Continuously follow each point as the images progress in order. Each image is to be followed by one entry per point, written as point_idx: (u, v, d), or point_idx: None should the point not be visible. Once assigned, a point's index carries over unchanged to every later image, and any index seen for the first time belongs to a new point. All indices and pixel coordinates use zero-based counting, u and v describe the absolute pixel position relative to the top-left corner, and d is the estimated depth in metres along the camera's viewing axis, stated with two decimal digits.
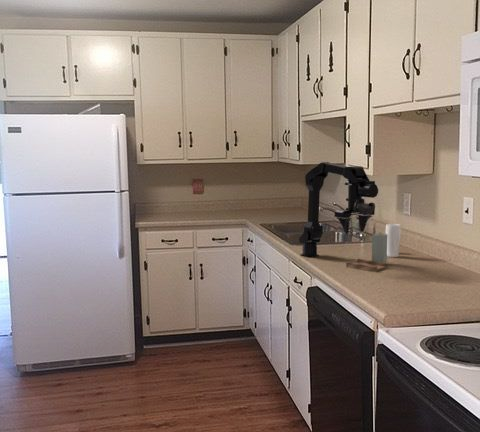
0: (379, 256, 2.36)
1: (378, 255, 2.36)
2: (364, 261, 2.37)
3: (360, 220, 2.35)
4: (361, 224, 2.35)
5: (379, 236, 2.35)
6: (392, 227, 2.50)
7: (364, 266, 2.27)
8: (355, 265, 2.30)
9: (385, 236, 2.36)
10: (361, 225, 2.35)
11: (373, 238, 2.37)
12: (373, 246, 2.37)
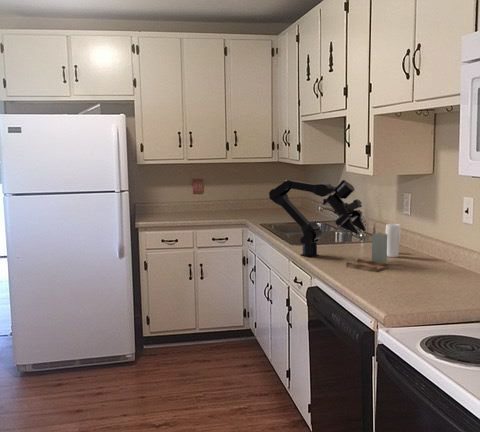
0: (379, 256, 2.36)
1: (378, 255, 2.36)
2: (364, 261, 2.37)
3: (356, 224, 2.48)
4: (359, 225, 2.47)
5: (379, 236, 2.35)
6: (392, 227, 2.50)
7: (364, 266, 2.27)
8: (355, 265, 2.30)
9: (385, 236, 2.36)
10: (360, 226, 2.47)
11: (373, 238, 2.37)
12: (373, 246, 2.37)
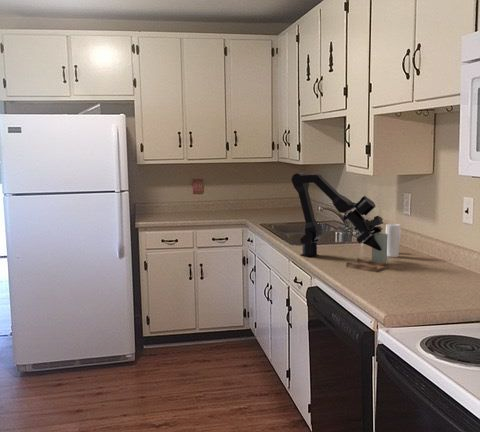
0: (379, 256, 2.36)
1: (379, 255, 2.36)
2: (364, 261, 2.37)
3: None
4: None
5: (379, 236, 2.35)
6: (392, 227, 2.50)
7: (364, 266, 2.27)
8: (355, 265, 2.30)
9: (385, 236, 2.36)
10: None
11: None
12: None
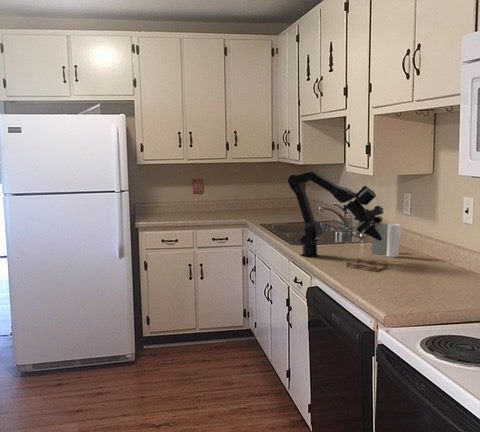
0: (380, 246, 2.35)
1: (379, 245, 2.36)
2: (364, 261, 2.37)
3: None
4: None
5: (380, 226, 2.35)
6: (392, 227, 2.50)
7: (364, 266, 2.27)
8: (355, 265, 2.30)
9: (386, 226, 2.36)
10: None
11: None
12: None
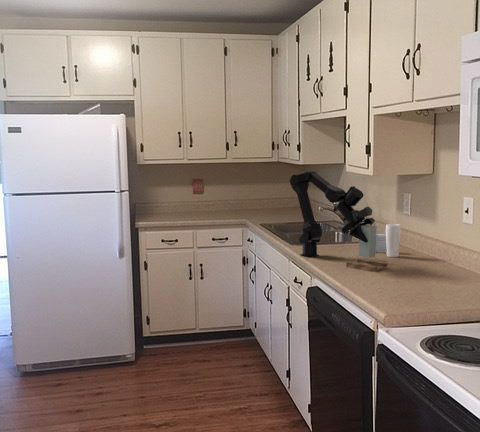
0: (366, 248, 2.28)
1: (365, 247, 2.29)
2: (364, 261, 2.37)
3: None
4: None
5: (366, 227, 2.28)
6: (392, 227, 2.50)
7: (364, 266, 2.27)
8: (355, 265, 2.30)
9: (373, 228, 2.28)
10: None
11: None
12: None
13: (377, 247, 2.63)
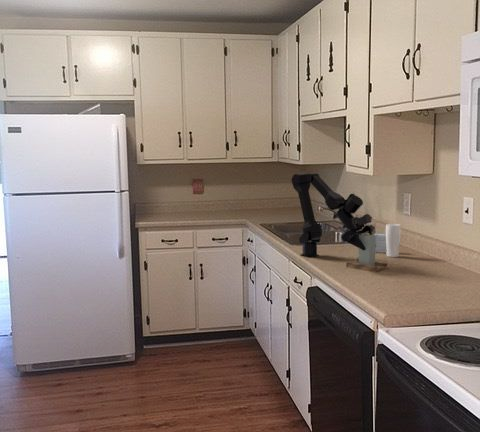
0: (365, 257, 2.29)
1: (365, 256, 2.29)
2: None
3: None
4: None
5: (365, 237, 2.28)
6: (392, 227, 2.50)
7: (364, 266, 2.27)
8: (355, 265, 2.30)
9: (372, 237, 2.29)
10: None
11: None
12: None
13: (377, 247, 2.63)
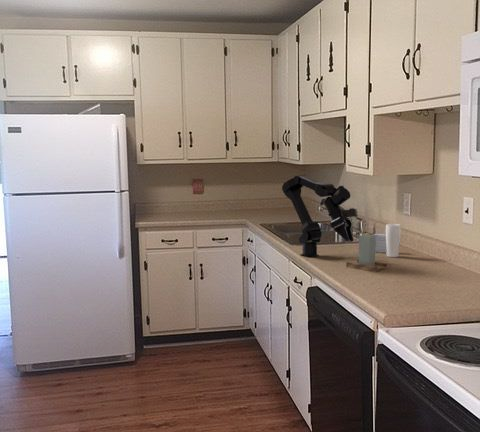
0: (365, 257, 2.29)
1: (365, 256, 2.29)
2: None
3: None
4: (348, 235, 2.43)
5: (365, 237, 2.28)
6: (392, 227, 2.50)
7: (364, 266, 2.27)
8: (355, 265, 2.30)
9: (372, 237, 2.29)
10: (349, 236, 2.42)
11: (360, 239, 2.30)
12: (360, 247, 2.30)
13: (377, 247, 2.63)
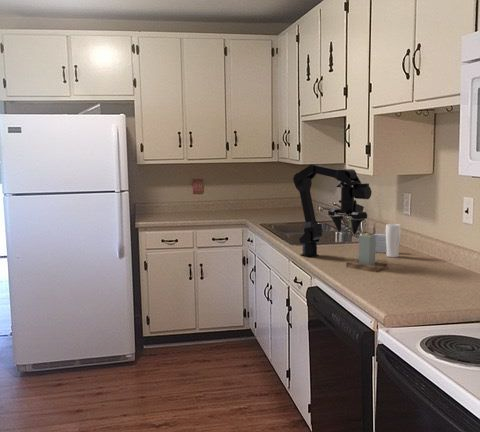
0: (365, 257, 2.29)
1: (365, 256, 2.29)
2: None
3: (337, 221, 2.44)
4: (338, 225, 2.45)
5: (365, 237, 2.28)
6: (392, 227, 2.50)
7: (364, 266, 2.27)
8: (355, 265, 2.30)
9: (372, 237, 2.29)
10: (339, 225, 2.45)
11: (360, 239, 2.30)
12: (360, 247, 2.30)
13: (377, 247, 2.63)
